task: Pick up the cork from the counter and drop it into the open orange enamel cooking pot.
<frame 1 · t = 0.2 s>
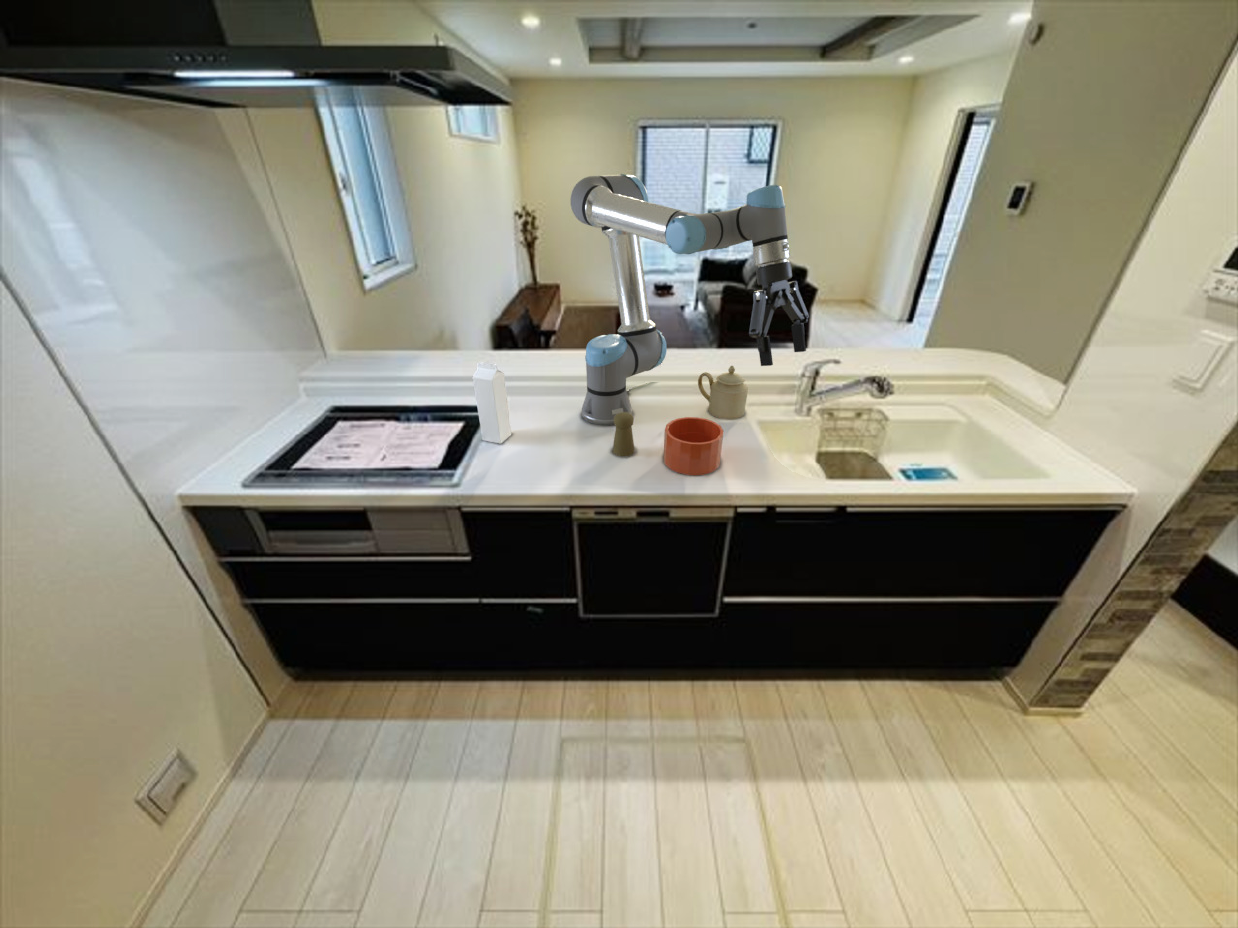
hand: (784, 358, 121), 28 cm above the counter, tool tilted 20°, fingers open, 13 cm apart
milk: (497, 437, 146), on the counter
pot: (691, 460, 135), on the counter
sugar bowl: (720, 411, 160), on the counter
cork: (623, 451, 140), on the counter
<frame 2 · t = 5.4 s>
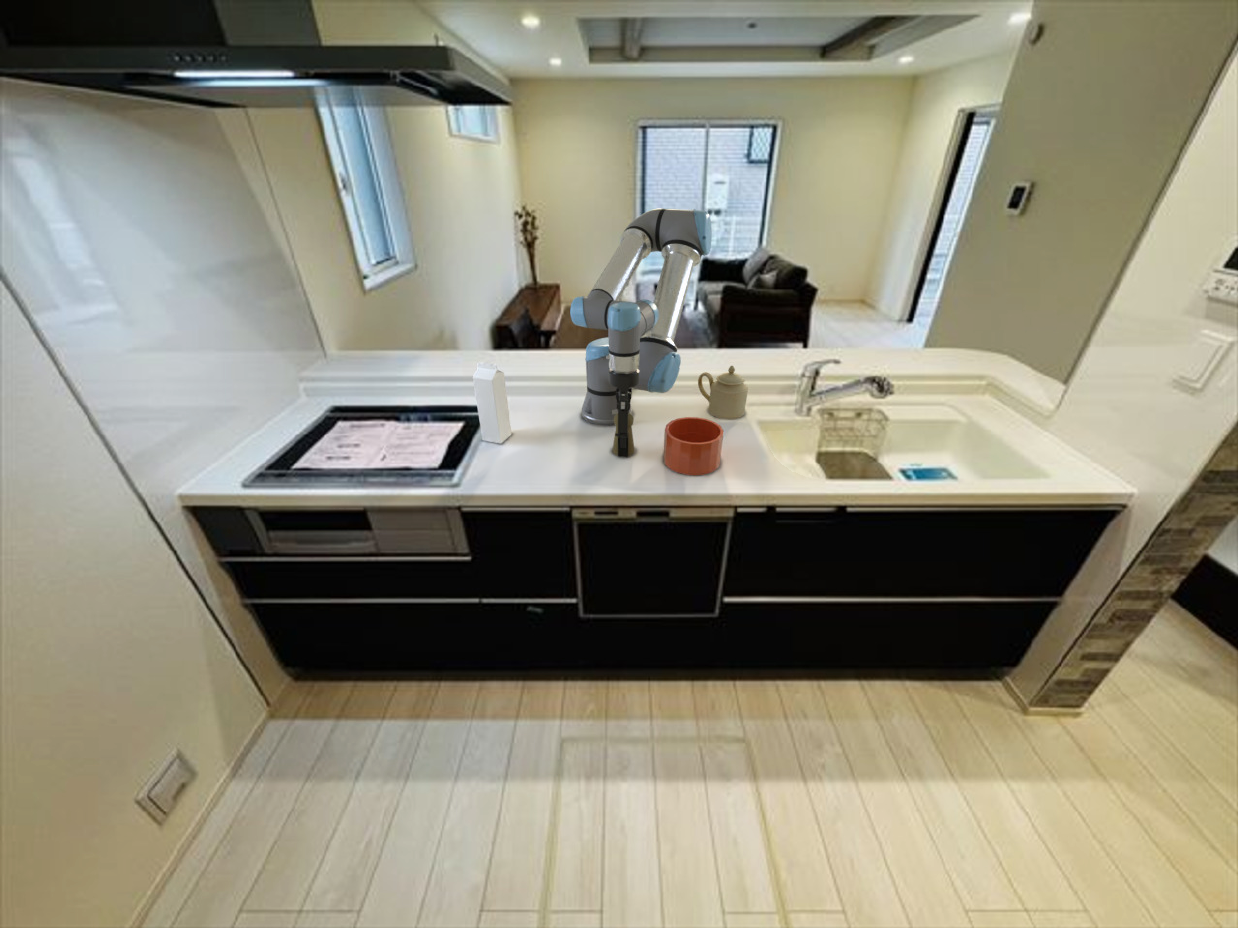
hand: (623, 449, 139), 0 cm above the counter, tool pointing down, fingers closed on cork, 6 cm apart
cork: (623, 451, 140), on the counter, touching gripper
everything else where it was.
when the fingers open (10 cm above the counter, at t = 12.4 s): cork drops 9 cm, resting on pot.
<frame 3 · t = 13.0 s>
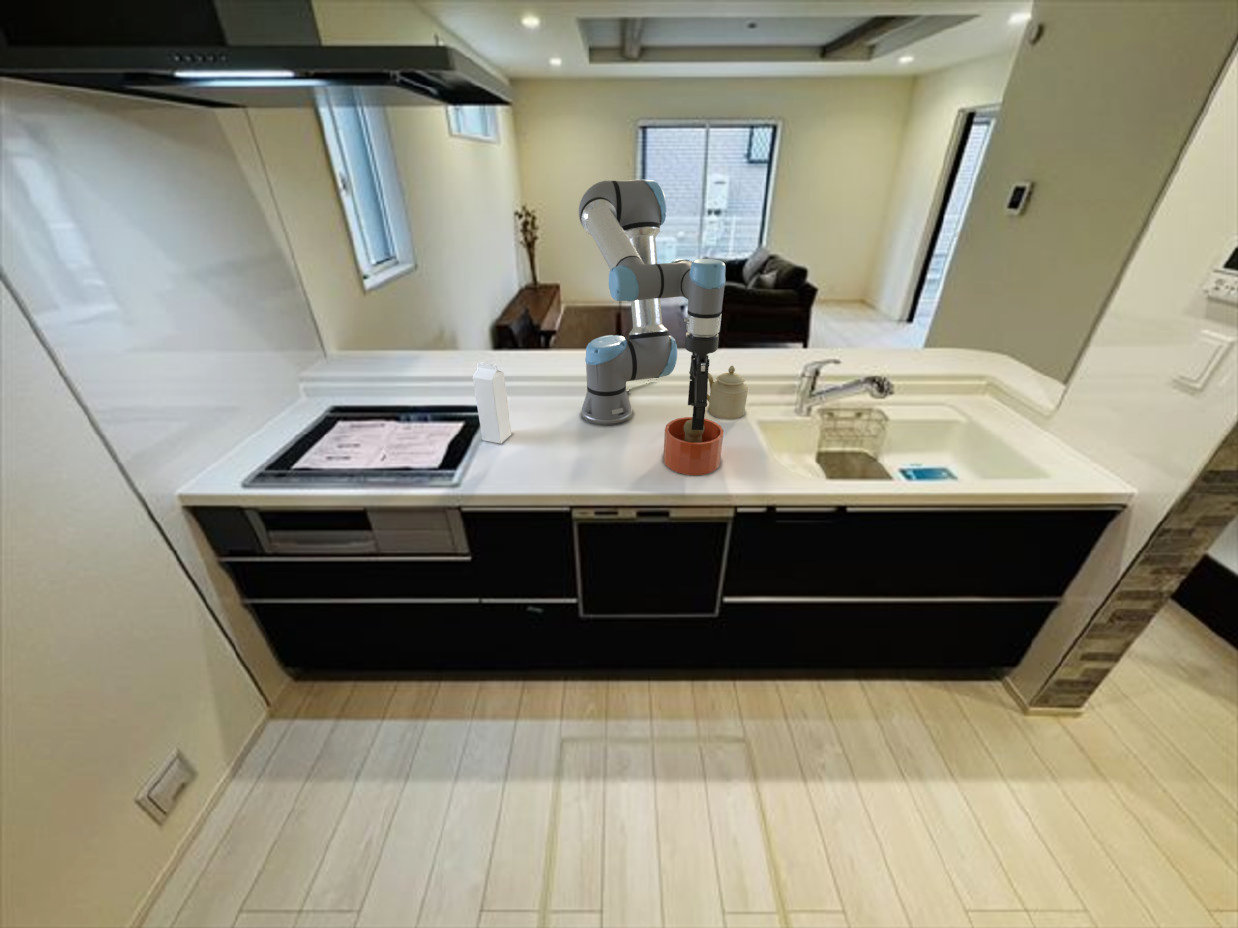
hand: (695, 416, 129), 13 cm above the counter, tool pointing down, fingers open, 13 cm apart
cork: (691, 460, 135), resting on pot
everything else where it was.
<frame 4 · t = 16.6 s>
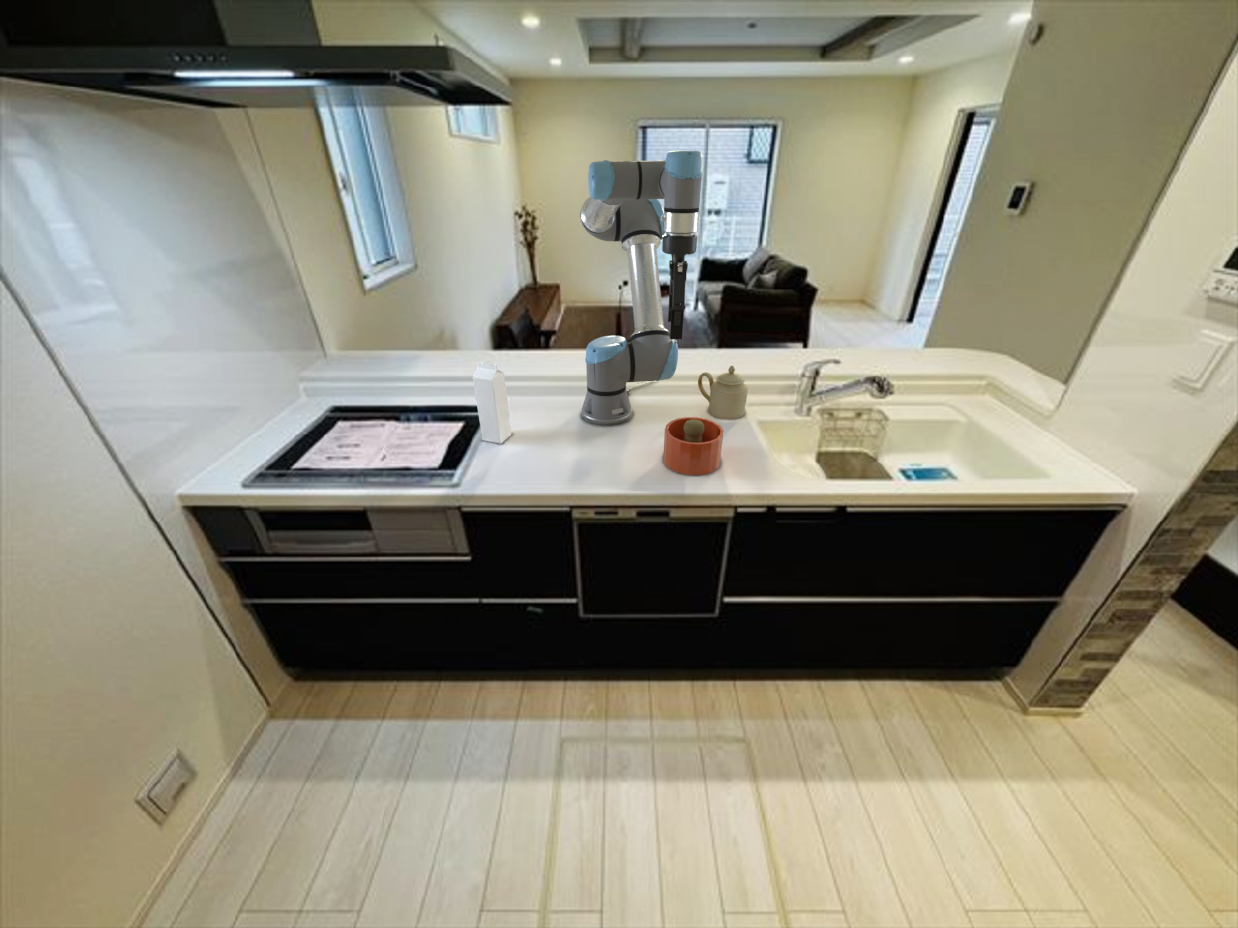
hand: (674, 330, 123), 33 cm above the counter, tool pointing down, fingers open, 13 cm apart
nothing on the counter moved.
at the end: cork inside the target area in the pot (0.5 cm from its centre), point 0.3 cm above the pot's base; the gripper is holding nothing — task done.
